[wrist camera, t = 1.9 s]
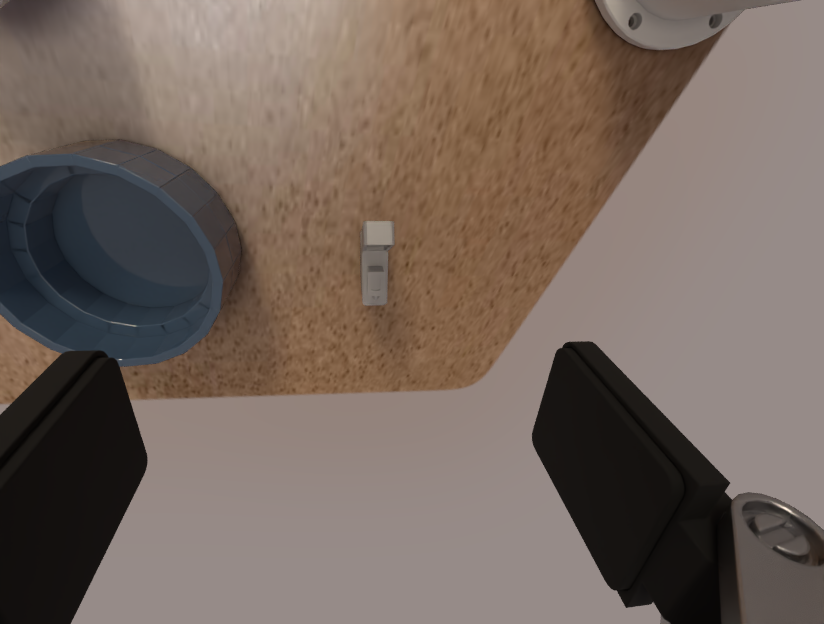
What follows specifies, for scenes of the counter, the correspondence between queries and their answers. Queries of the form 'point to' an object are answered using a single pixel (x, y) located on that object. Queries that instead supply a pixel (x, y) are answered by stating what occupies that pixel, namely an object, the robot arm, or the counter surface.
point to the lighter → (375, 260)
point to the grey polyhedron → (3, 3)
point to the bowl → (113, 251)
